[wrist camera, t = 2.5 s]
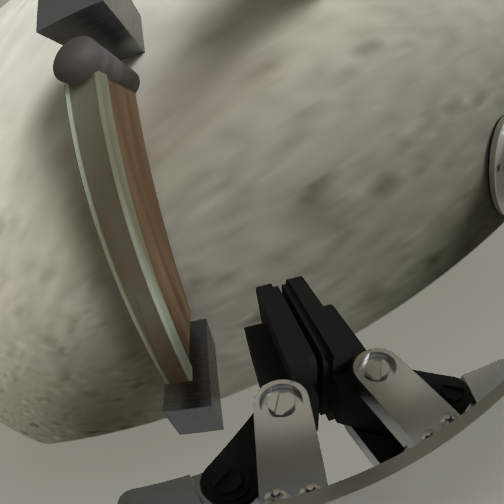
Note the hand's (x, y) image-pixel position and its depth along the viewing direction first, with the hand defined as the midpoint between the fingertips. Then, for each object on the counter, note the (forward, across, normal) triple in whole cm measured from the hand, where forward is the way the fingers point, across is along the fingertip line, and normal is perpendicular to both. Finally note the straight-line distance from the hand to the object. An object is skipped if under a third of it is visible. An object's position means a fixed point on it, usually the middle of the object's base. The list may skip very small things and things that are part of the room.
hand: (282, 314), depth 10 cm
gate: (+10, +6, -3) cm, 12 cm away
